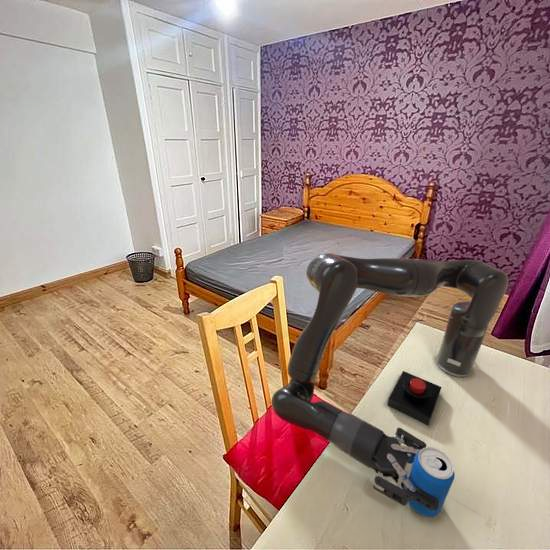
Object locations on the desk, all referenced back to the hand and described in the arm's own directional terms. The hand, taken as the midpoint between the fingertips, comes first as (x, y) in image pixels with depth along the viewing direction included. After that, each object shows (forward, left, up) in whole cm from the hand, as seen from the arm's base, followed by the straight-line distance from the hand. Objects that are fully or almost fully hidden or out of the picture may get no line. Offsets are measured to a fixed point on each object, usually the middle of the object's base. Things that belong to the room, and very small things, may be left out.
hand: (442, 488), depth 55 cm
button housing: (-24, -10, -6) cm, 27 cm away
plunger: (-24, -10, -2) cm, 26 cm away
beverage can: (0, -2, -7) cm, 7 cm away
